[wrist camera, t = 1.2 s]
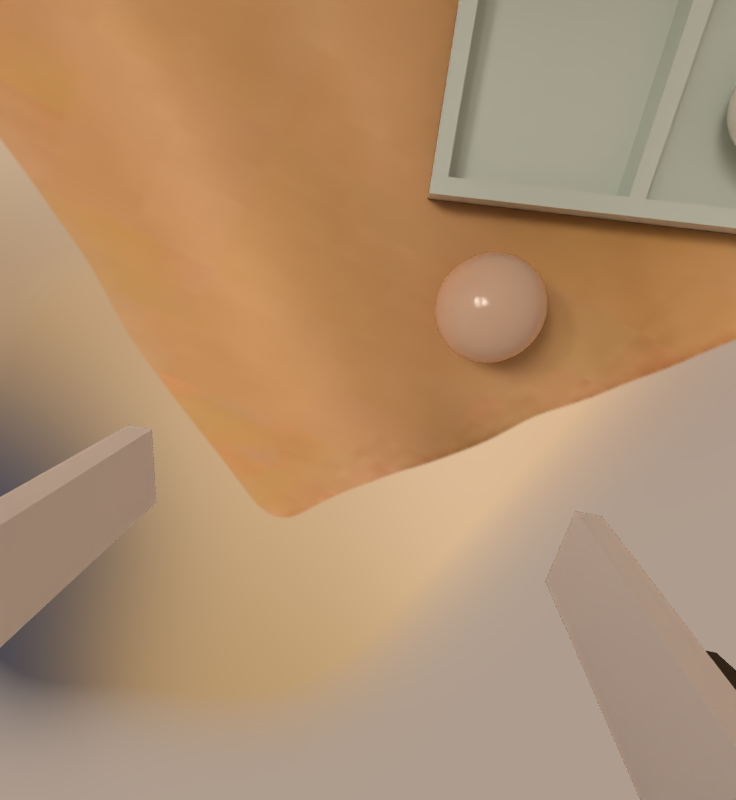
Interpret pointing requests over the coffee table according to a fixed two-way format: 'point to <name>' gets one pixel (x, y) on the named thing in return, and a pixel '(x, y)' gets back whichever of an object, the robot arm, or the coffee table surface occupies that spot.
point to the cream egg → (732, 116)
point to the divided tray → (592, 110)
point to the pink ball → (491, 307)
